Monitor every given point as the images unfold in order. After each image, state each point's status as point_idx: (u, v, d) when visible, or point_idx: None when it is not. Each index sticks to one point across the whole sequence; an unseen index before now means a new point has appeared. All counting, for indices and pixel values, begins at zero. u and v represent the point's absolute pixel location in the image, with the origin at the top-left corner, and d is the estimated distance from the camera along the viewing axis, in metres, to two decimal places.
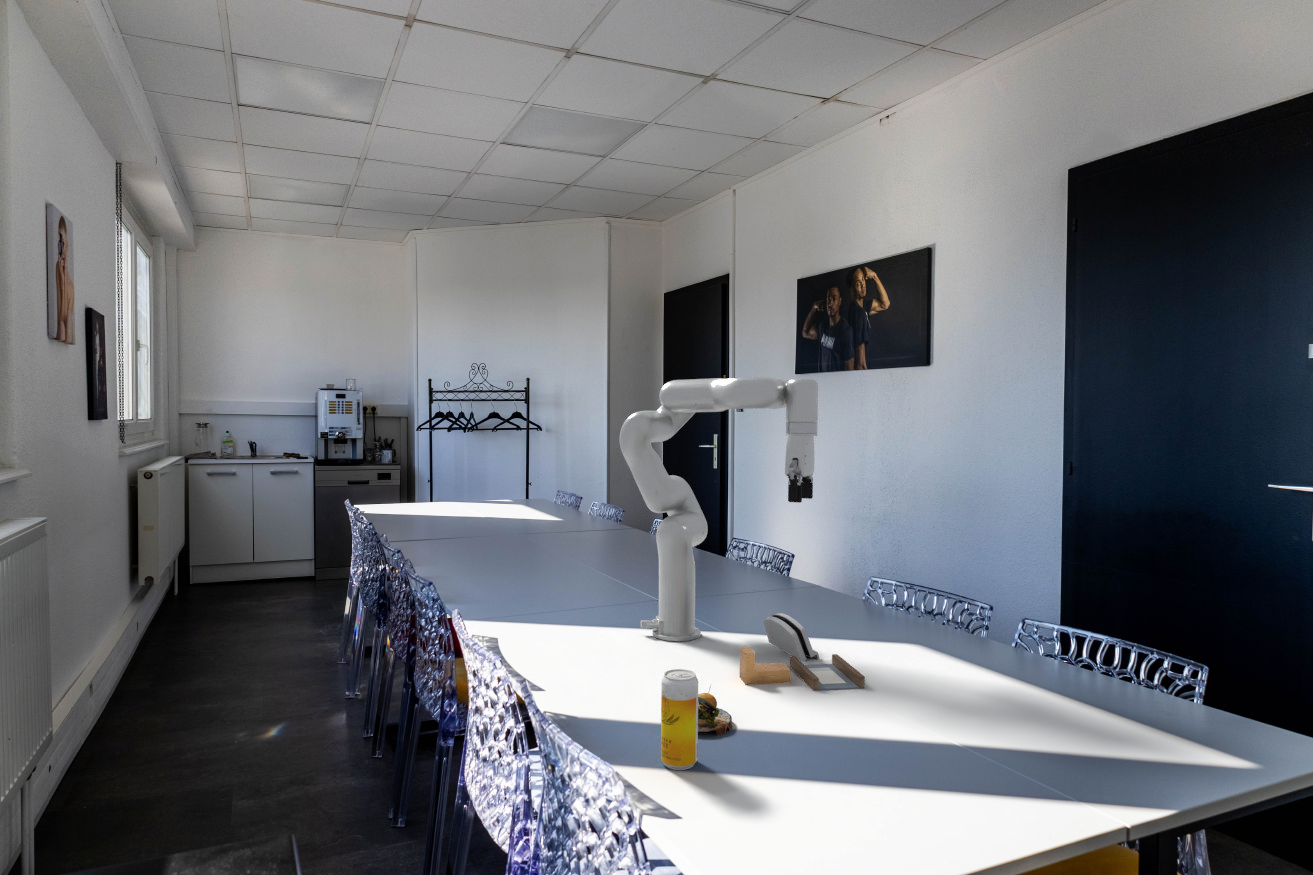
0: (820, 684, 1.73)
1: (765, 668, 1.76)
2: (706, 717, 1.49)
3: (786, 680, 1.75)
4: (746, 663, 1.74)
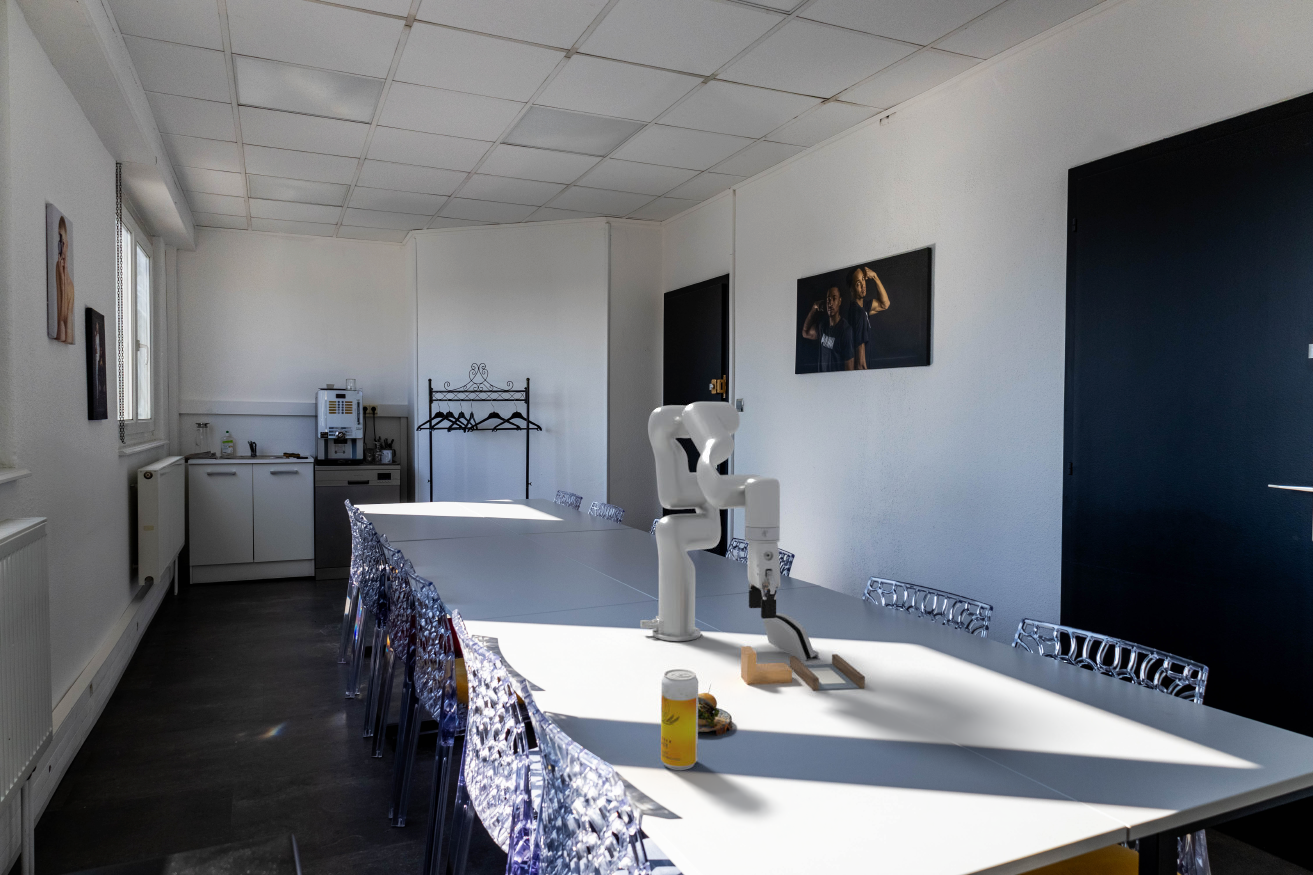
0: (820, 684, 1.73)
1: (767, 668, 1.76)
2: (706, 717, 1.49)
3: (787, 679, 1.75)
4: (748, 663, 1.74)
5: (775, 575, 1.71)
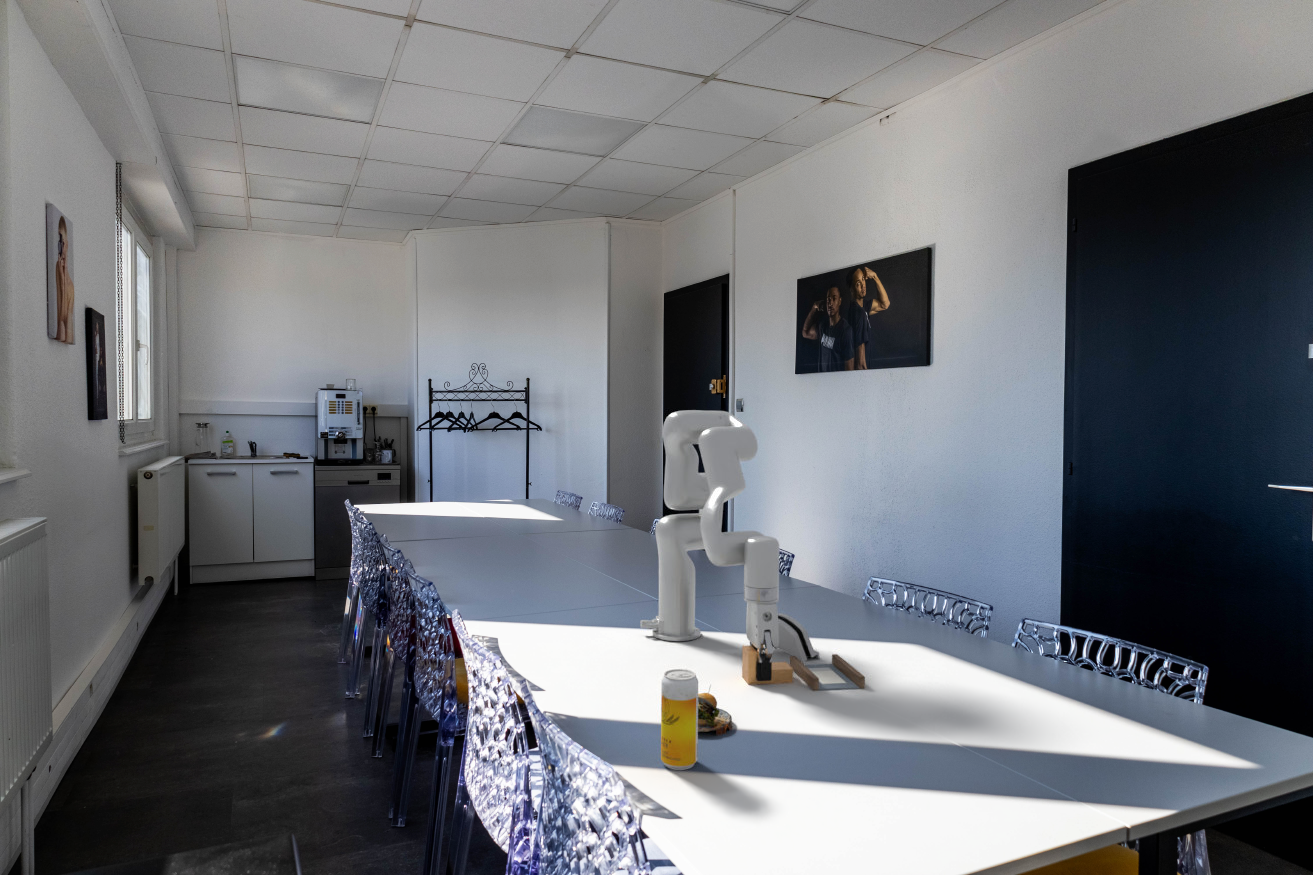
0: (820, 684, 1.73)
1: None
2: (706, 717, 1.49)
3: (788, 679, 1.75)
4: (749, 662, 1.74)
5: (774, 636, 1.72)
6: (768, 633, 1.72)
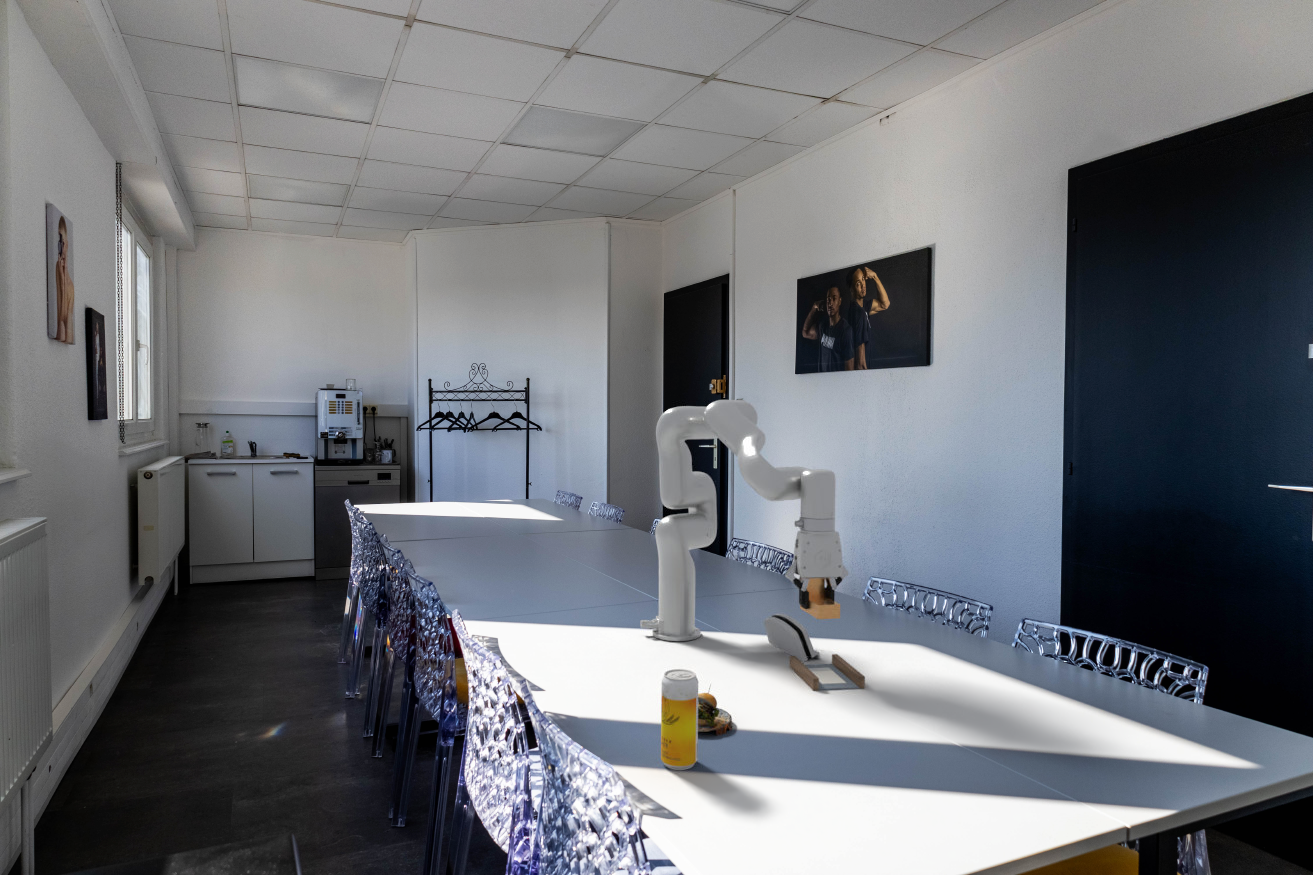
0: (820, 684, 1.73)
1: (814, 599, 1.77)
2: (706, 717, 1.49)
3: (816, 614, 1.73)
4: None
5: (798, 563, 1.76)
6: (797, 560, 1.77)
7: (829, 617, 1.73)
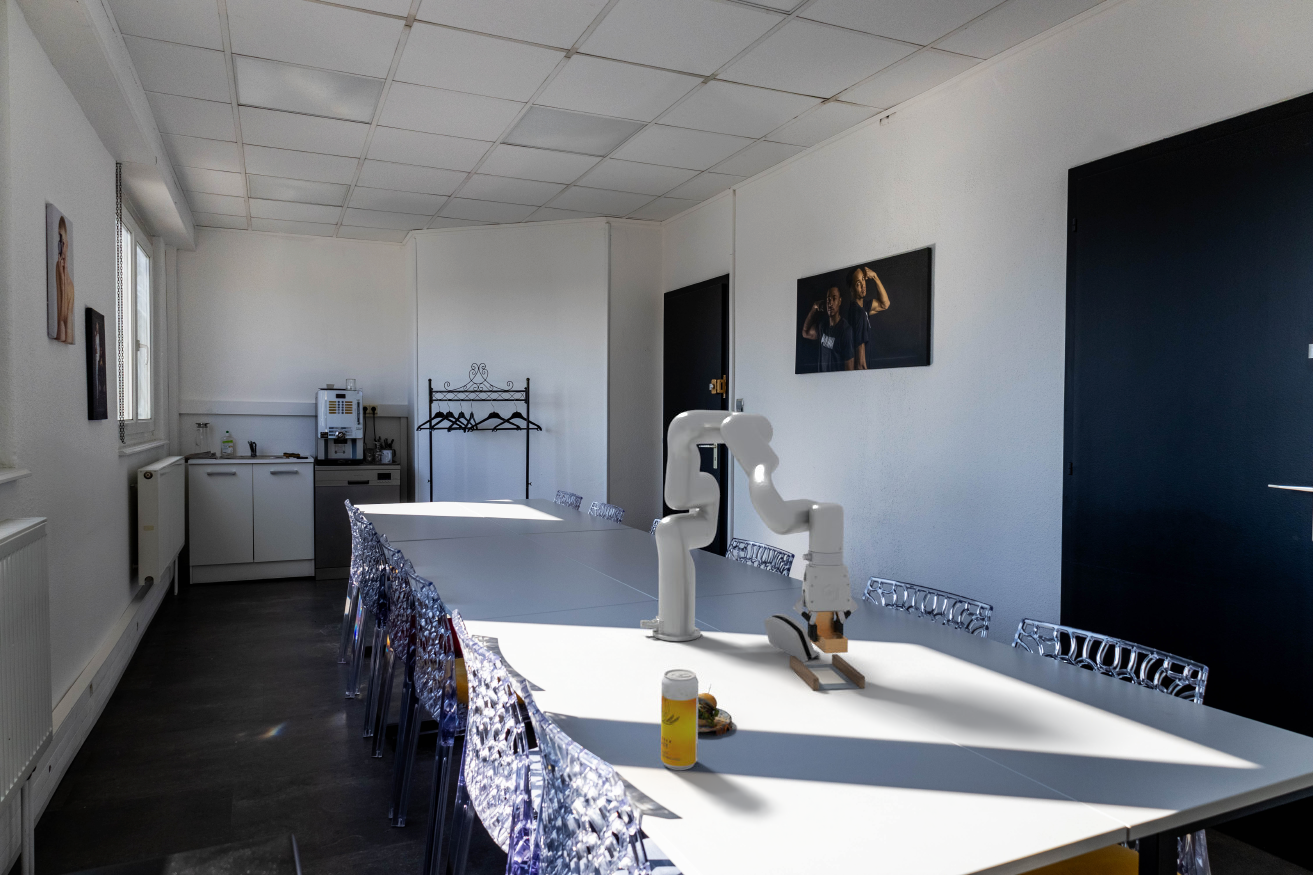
0: (820, 684, 1.73)
1: (822, 632, 1.78)
2: (706, 717, 1.49)
3: (823, 648, 1.74)
4: None
5: (806, 597, 1.77)
6: (805, 593, 1.78)
7: (836, 651, 1.73)
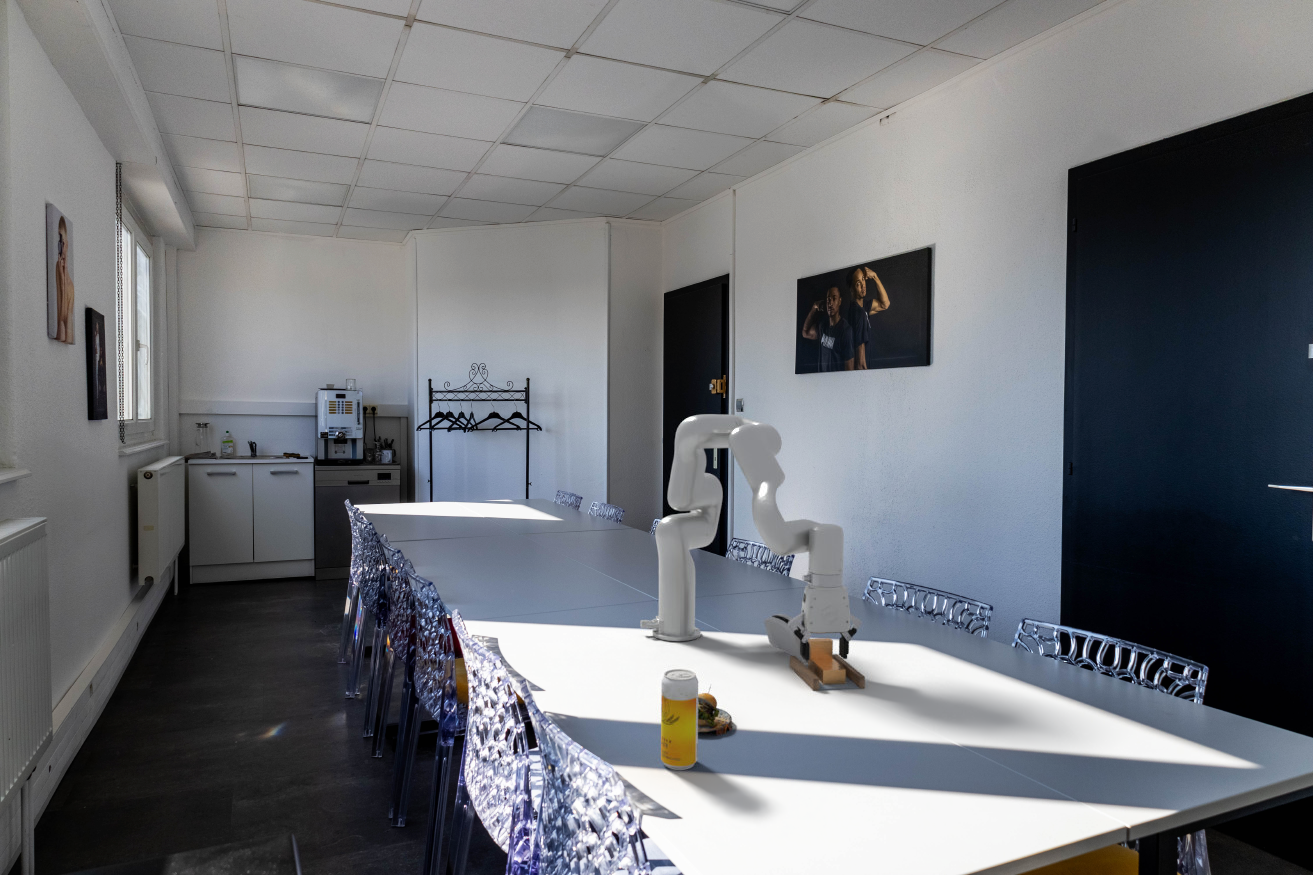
0: (820, 684, 1.73)
1: (820, 662, 1.78)
2: (706, 717, 1.49)
3: (821, 678, 1.74)
4: None
5: (805, 618, 1.77)
6: None
7: (834, 682, 1.74)
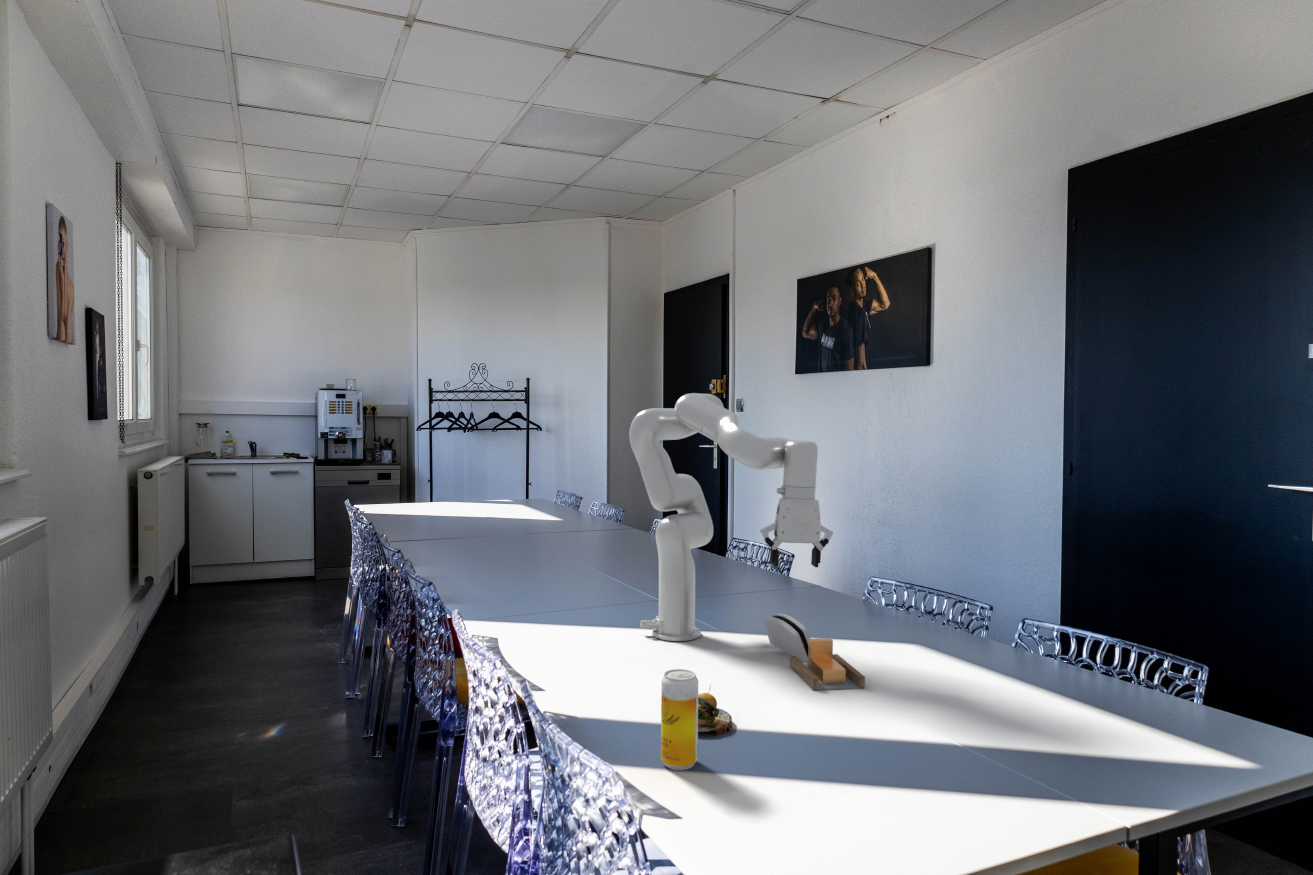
0: (820, 684, 1.73)
1: (820, 662, 1.78)
2: (706, 717, 1.49)
3: (821, 678, 1.74)
4: None
5: (777, 528, 1.87)
6: None
7: (834, 682, 1.74)
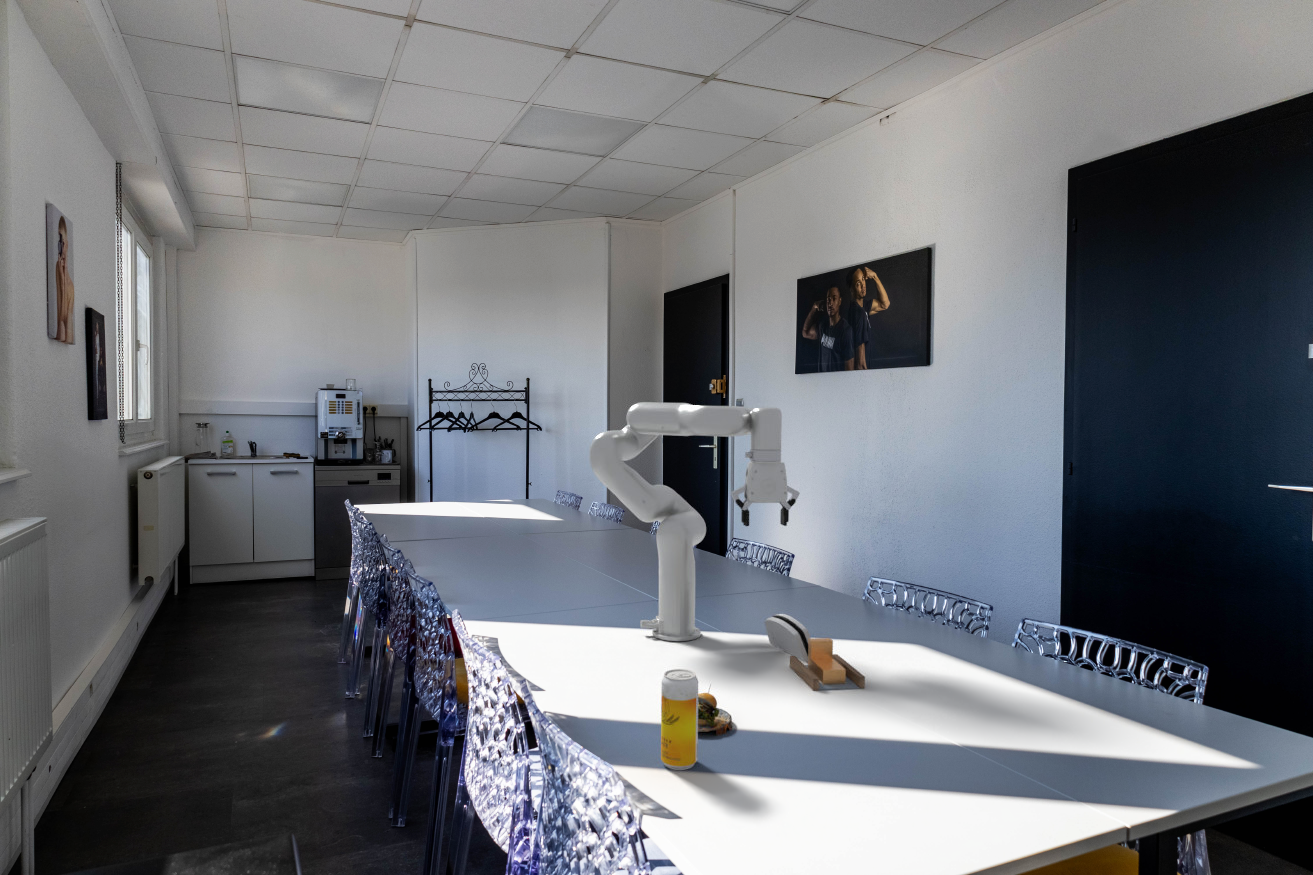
0: (820, 684, 1.73)
1: (820, 662, 1.78)
2: (706, 717, 1.49)
3: (821, 678, 1.74)
4: None
5: (747, 490, 1.99)
6: None
7: (834, 682, 1.74)
